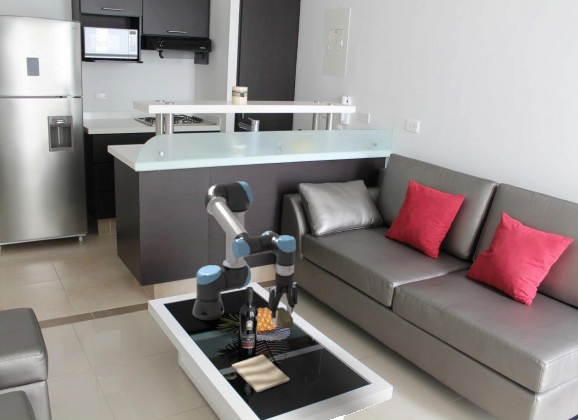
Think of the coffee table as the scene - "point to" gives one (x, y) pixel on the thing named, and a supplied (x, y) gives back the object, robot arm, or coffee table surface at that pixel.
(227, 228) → the robot arm
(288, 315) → the stone block
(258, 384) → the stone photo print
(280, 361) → the coffee table surface
